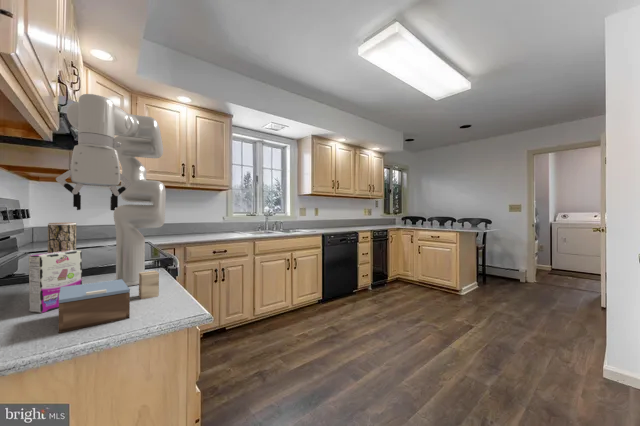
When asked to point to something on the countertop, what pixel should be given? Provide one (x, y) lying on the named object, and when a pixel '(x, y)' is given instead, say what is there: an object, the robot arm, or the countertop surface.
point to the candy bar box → (52, 277)
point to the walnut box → (93, 311)
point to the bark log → (61, 237)
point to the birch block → (148, 284)
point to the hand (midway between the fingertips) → (96, 209)
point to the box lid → (92, 290)
